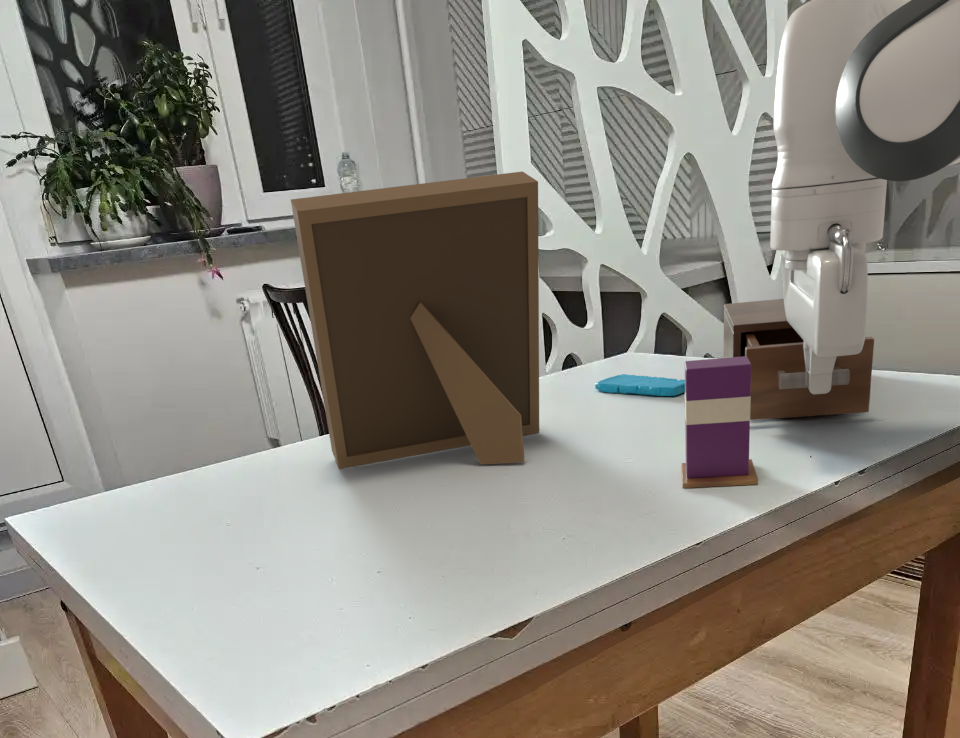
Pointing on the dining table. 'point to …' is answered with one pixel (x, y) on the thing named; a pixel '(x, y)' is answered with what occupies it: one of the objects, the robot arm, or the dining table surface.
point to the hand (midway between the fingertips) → (817, 390)
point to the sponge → (641, 385)
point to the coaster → (720, 479)
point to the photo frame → (425, 316)
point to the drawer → (802, 377)
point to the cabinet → (751, 321)
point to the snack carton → (717, 417)
